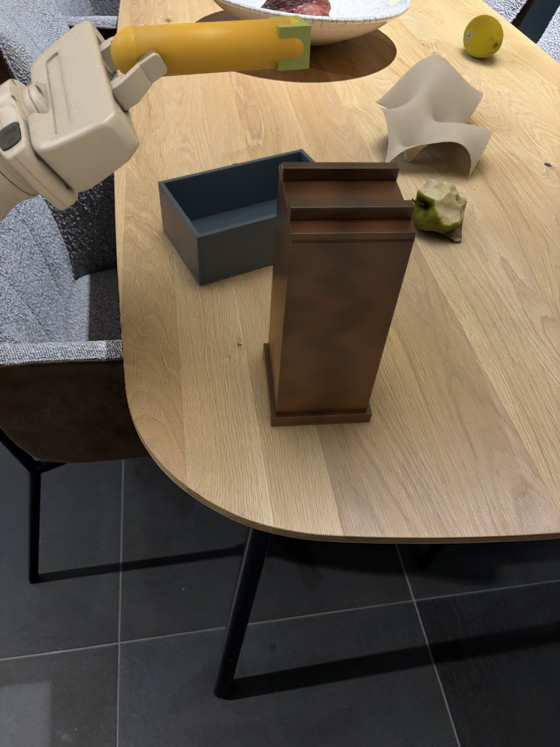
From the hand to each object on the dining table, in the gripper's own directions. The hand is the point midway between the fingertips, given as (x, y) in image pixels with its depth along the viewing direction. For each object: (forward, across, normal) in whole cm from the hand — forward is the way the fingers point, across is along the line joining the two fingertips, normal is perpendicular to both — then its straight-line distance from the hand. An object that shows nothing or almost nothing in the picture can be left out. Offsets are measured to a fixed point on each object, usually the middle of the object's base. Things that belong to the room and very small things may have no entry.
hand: (156, 45), depth 52 cm
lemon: (+52, -63, -66) cm, 105 cm away
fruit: (+19, -9, -47) cm, 52 cm away
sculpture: (+28, -33, -53) cm, 68 cm away
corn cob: (+3, 0, -5) cm, 6 cm away
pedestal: (-5, +16, -33) cm, 37 cm away
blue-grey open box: (-4, -12, -34) cm, 36 cm away
